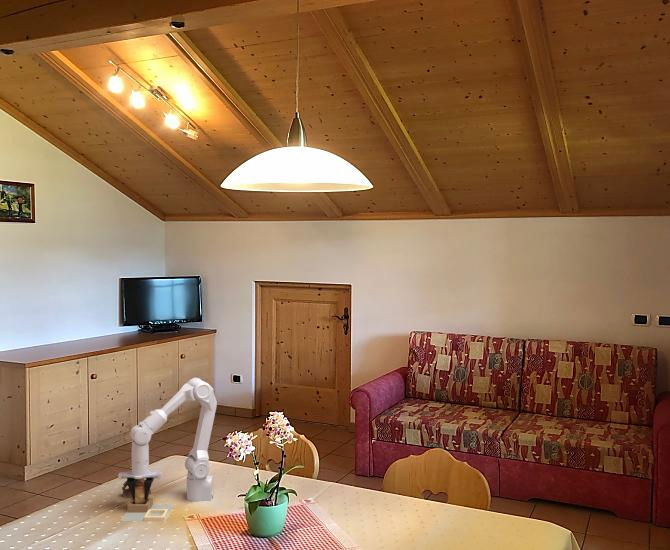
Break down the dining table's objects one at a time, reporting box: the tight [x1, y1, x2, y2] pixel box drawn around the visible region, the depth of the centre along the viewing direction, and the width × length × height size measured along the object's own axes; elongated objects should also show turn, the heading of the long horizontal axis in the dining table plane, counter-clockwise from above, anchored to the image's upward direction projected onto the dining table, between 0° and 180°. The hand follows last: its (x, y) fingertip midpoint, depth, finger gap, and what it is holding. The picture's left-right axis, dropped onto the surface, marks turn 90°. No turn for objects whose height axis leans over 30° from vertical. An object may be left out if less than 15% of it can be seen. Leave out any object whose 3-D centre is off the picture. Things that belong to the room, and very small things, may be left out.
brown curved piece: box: [121, 479, 152, 497], centre depth 248 cm, size 12×10×8 cm
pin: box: [135, 483, 146, 504], centre depth 233 cm, size 4×4×7 cm
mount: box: [120, 496, 175, 522], centre depth 230 cm, size 15×14×4 cm
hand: (140, 498), depth 233 cm, fingers closed on pin, 3 cm apart
